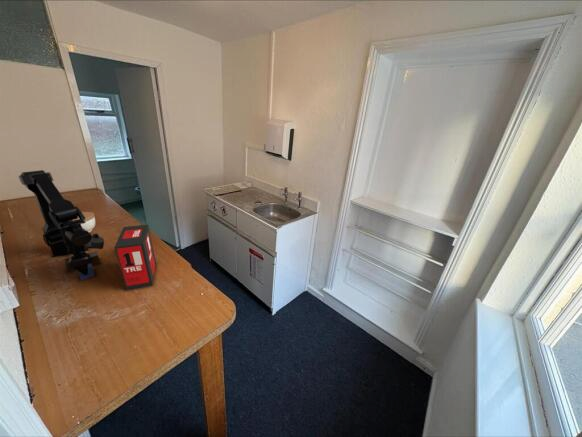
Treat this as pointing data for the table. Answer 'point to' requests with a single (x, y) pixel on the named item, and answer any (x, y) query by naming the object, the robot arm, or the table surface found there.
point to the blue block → (90, 272)
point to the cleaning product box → (136, 256)
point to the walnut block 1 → (68, 265)
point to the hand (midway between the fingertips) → (85, 269)
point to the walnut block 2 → (94, 258)
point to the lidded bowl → (88, 221)
